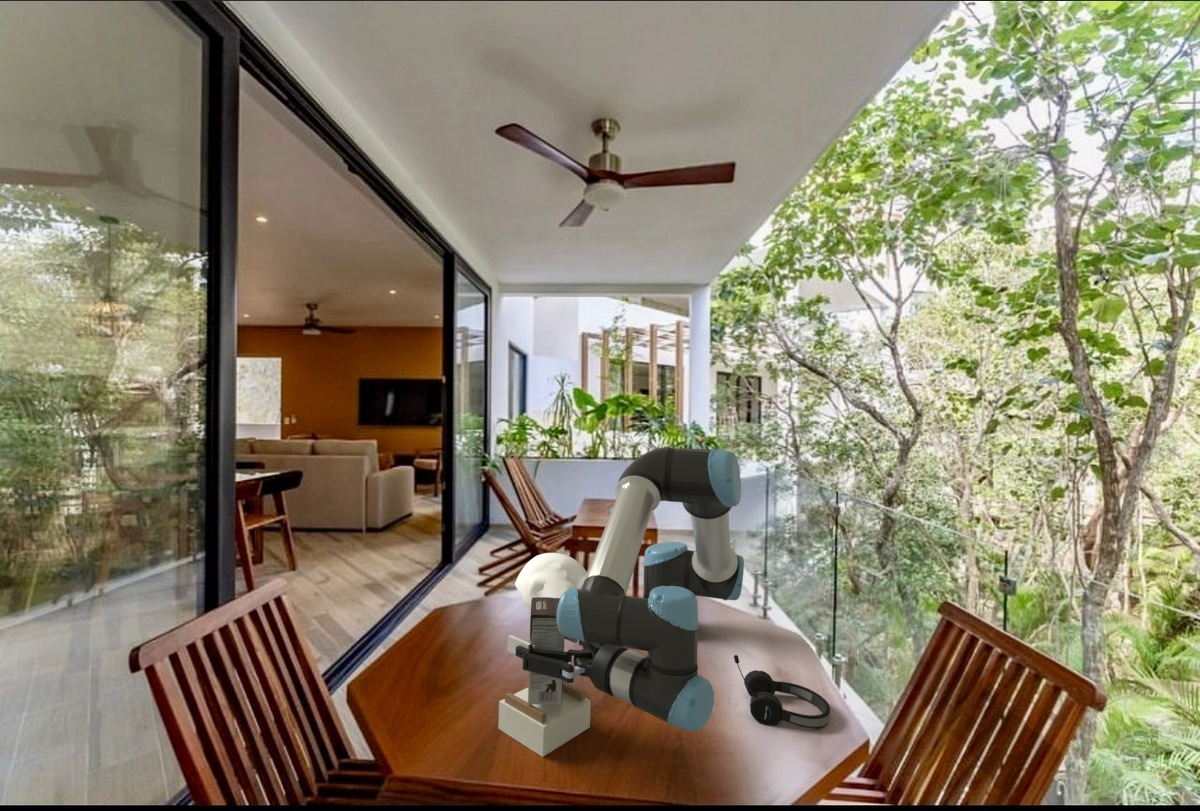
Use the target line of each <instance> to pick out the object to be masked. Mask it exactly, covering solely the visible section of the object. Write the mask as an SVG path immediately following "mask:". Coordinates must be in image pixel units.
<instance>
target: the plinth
mask: <svg viewBox="0 0 1200 811" xmlns="http://www.w3.org/2000/svg"><path fill="white" fill-rule="evenodd" d="M498 702H499V703H498V722H497V723H498V724H497V725H498V728H497V729H499V730H500V731H501V732H503V733H504V734H506V735H507V736H508V737H510V738H513V739H514V740H515V741H517V742H518V743H521V744H522V745H523V746H525V747H527V749H529V750H531V751H533V752H534V753H536V754H537V755H539V756H541V757H542V758H544V757H545V756H547V755H548V754H550V753H552V752H553V751H554V750H556V749H558V748H560V747H561V746H563V745H564V744H566V743H567V742H569V741H570V740H572V739H574V738H575V737H576V736H579V735H580V734H582V733H583V732H585V731H586V730H587V729H589V728H591V700H590V699H589V698H586V691H585V690H583V689H581V688H580V687H577V686H574V685H573V684H572V683H567V682H565V681H563V697H562V704H528V687H526V688H523V689H522V690H520V691H518V692H515V693H512V692H510V691H508V692H507V693H504V699H501V700H499V701H498Z"/></svg>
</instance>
